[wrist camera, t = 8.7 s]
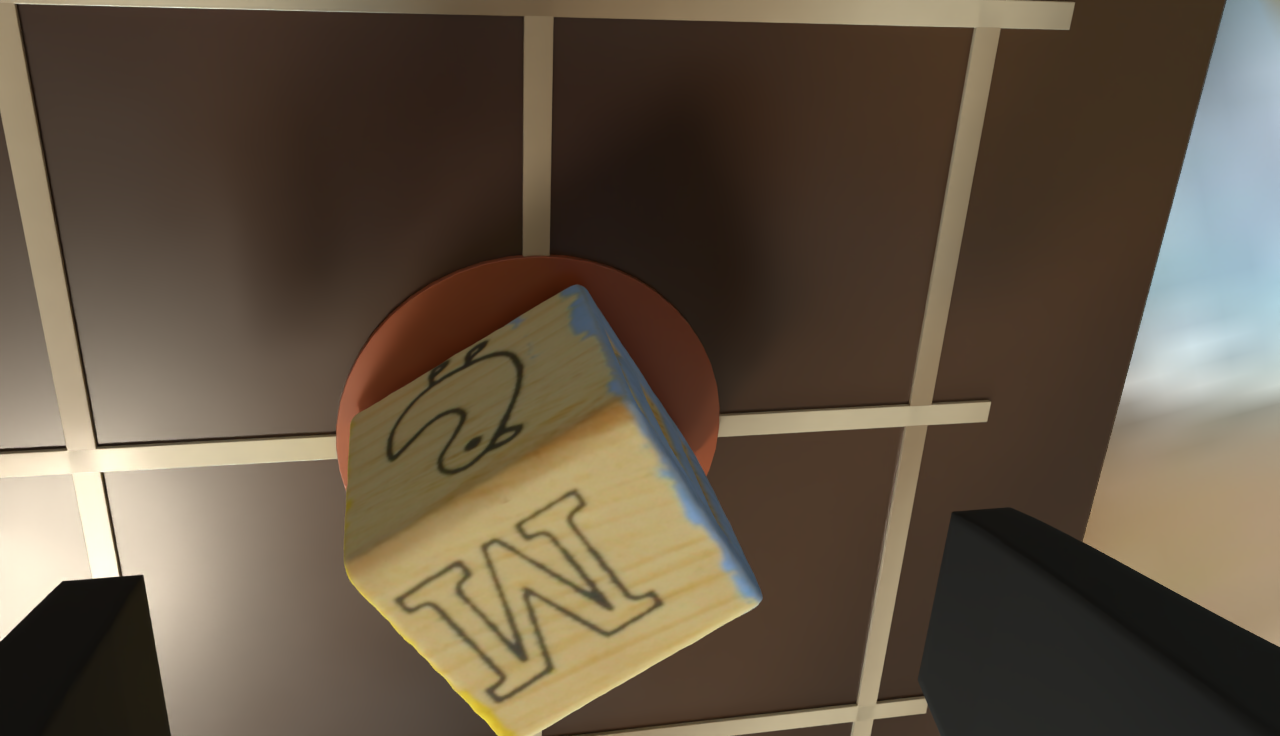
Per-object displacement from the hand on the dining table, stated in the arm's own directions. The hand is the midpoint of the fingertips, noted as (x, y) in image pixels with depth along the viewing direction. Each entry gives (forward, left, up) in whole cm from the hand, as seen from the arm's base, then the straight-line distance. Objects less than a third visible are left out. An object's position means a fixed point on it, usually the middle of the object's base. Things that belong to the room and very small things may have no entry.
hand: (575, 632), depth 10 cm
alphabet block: (0, 0, -4) cm, 4 cm away
